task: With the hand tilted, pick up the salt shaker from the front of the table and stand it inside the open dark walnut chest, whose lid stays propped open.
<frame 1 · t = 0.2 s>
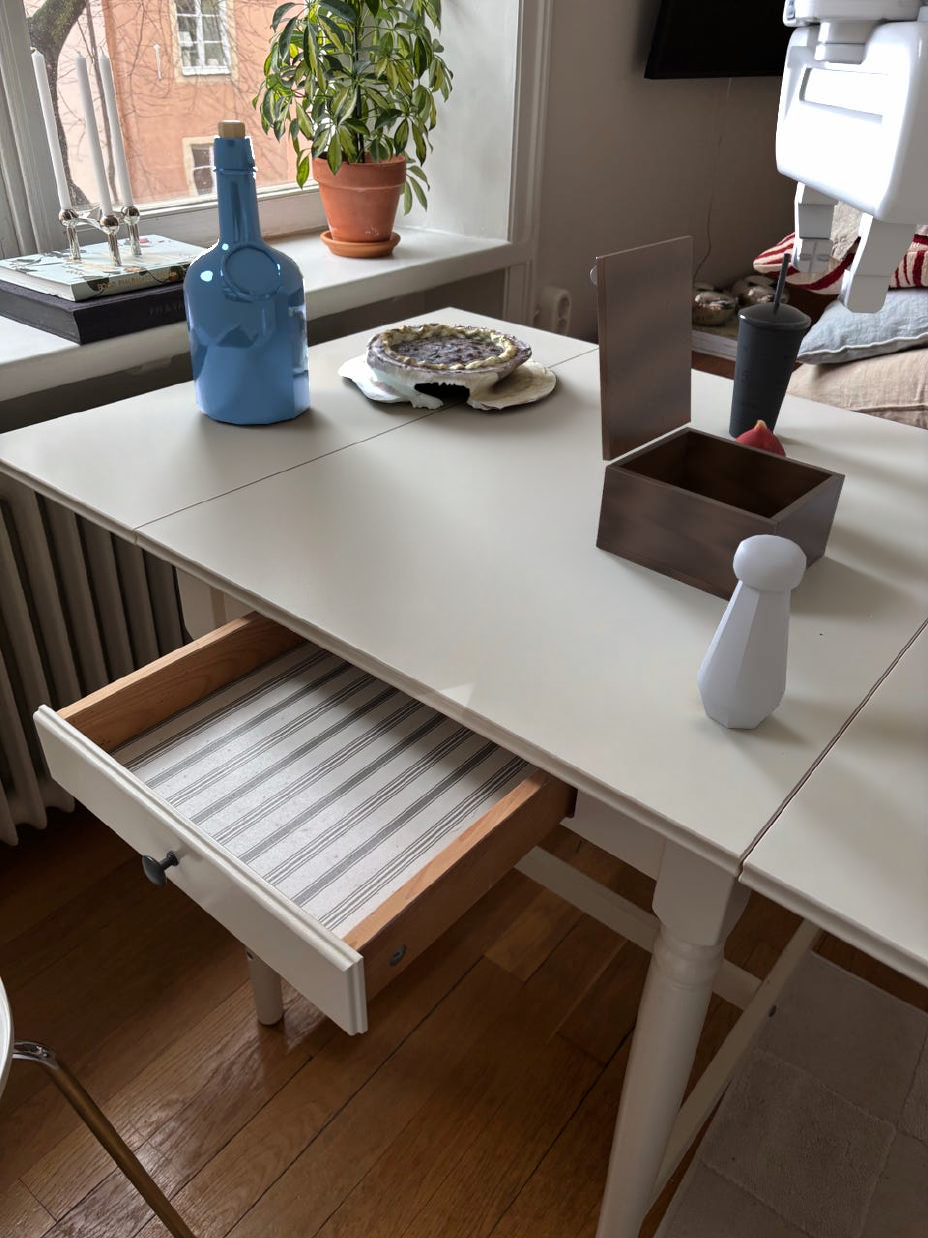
hand: (831, 288, 51), 28 cm above the table, tool pointing down, fingers open, 8 cm apart
salt shaker: (733, 713, 66), on the table
drinking cup: (749, 436, 111), on the table
chest lid: (630, 346, 83), point 16 cm above the table, hinge at 100.0°
wine bottle: (255, 410, 112), on the table
onion: (747, 499, 96), on the table
chest: (710, 550, 86), on the table
pie: (449, 379, 124), on the table
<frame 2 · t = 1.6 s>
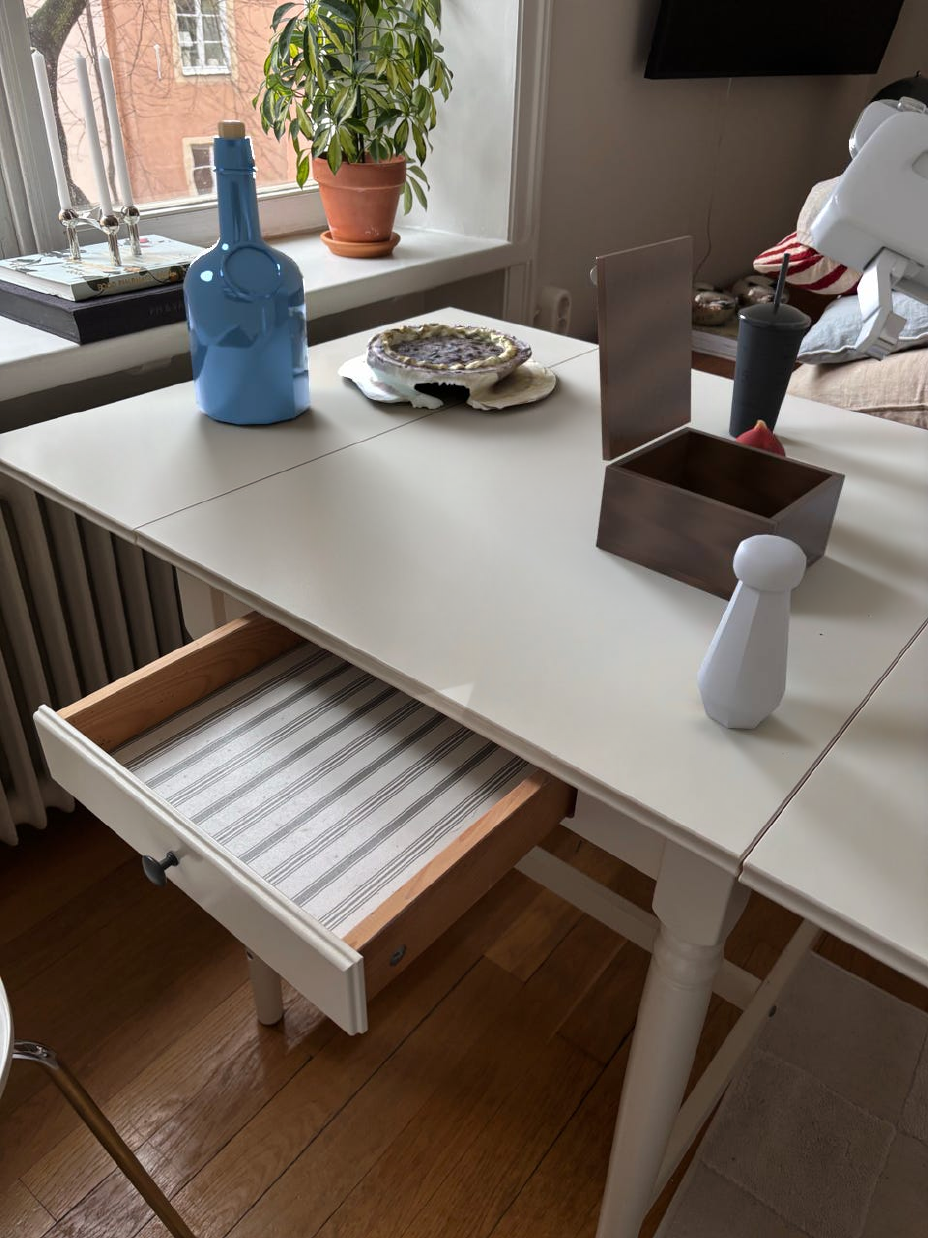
nothing on the table moved.
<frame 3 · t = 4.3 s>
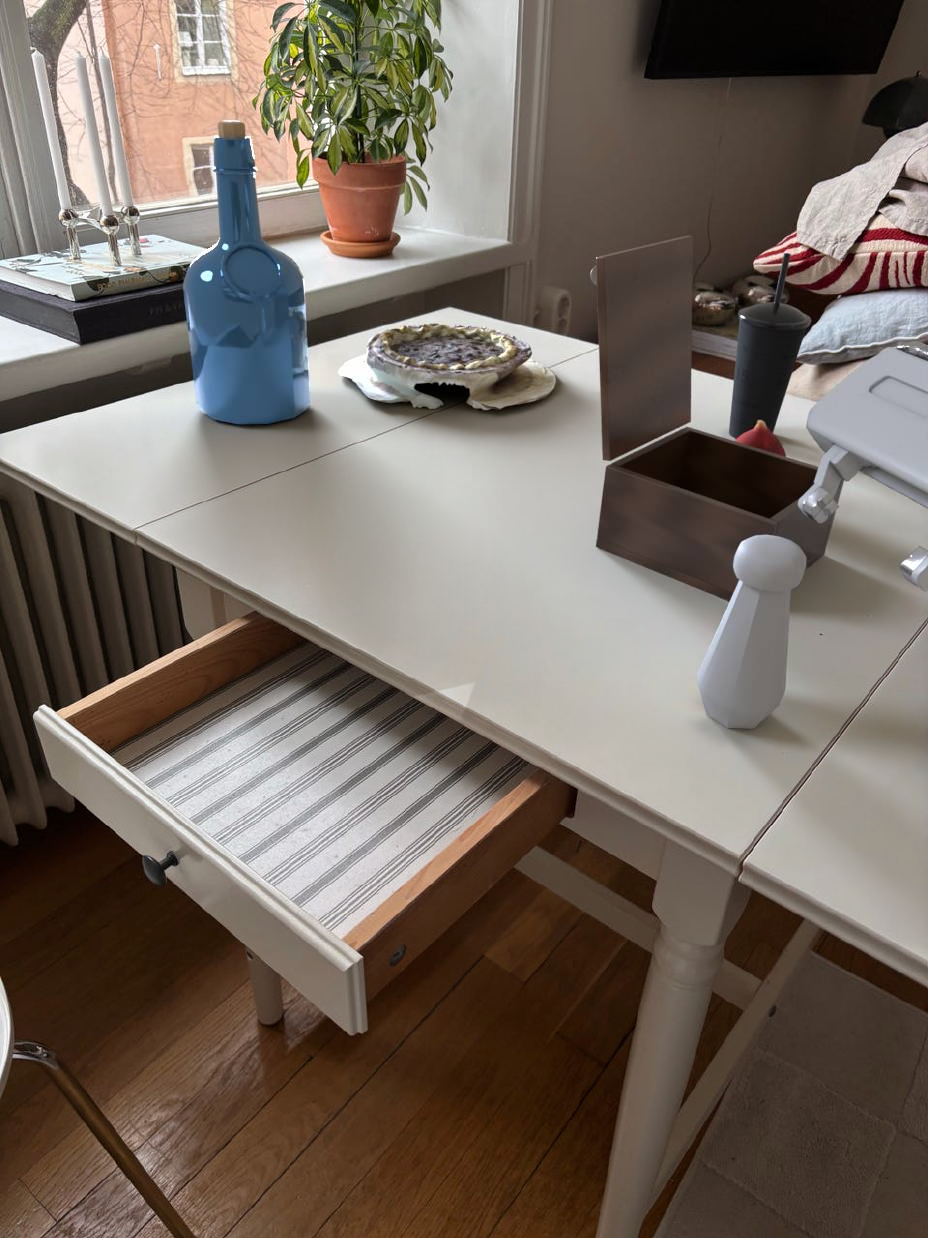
hand: (856, 545, 60), 12 cm above the table, tool tilted 45°, fingers open, 8 cm apart
nothing on the table moved.
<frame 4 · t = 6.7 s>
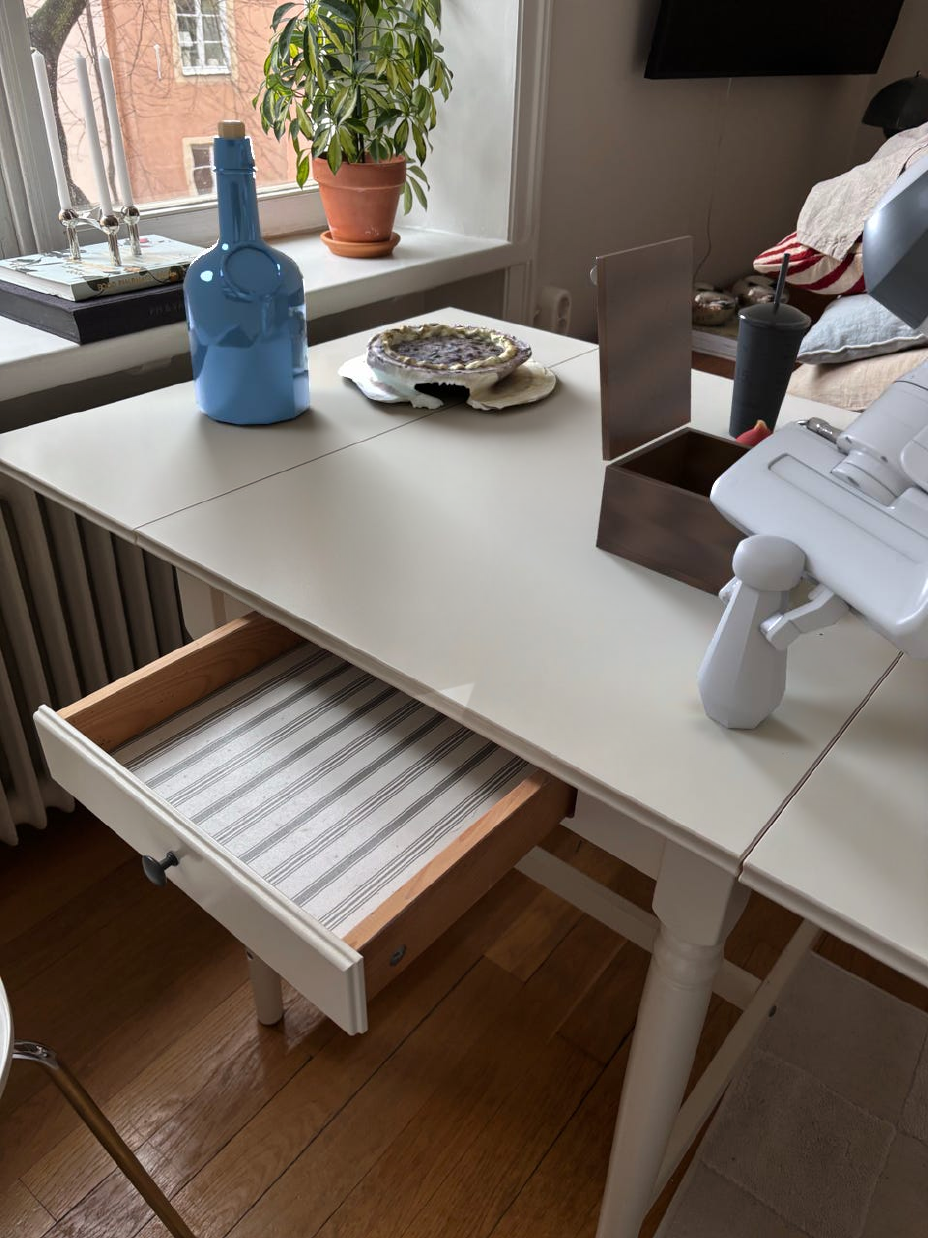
hand: (747, 623, 62), 7 cm above the table, tool tilted 45°, fingers closed on salt shaker, 3 cm apart
salt shaker: (733, 713, 66), on the table, touching gripper
everything else where it was.
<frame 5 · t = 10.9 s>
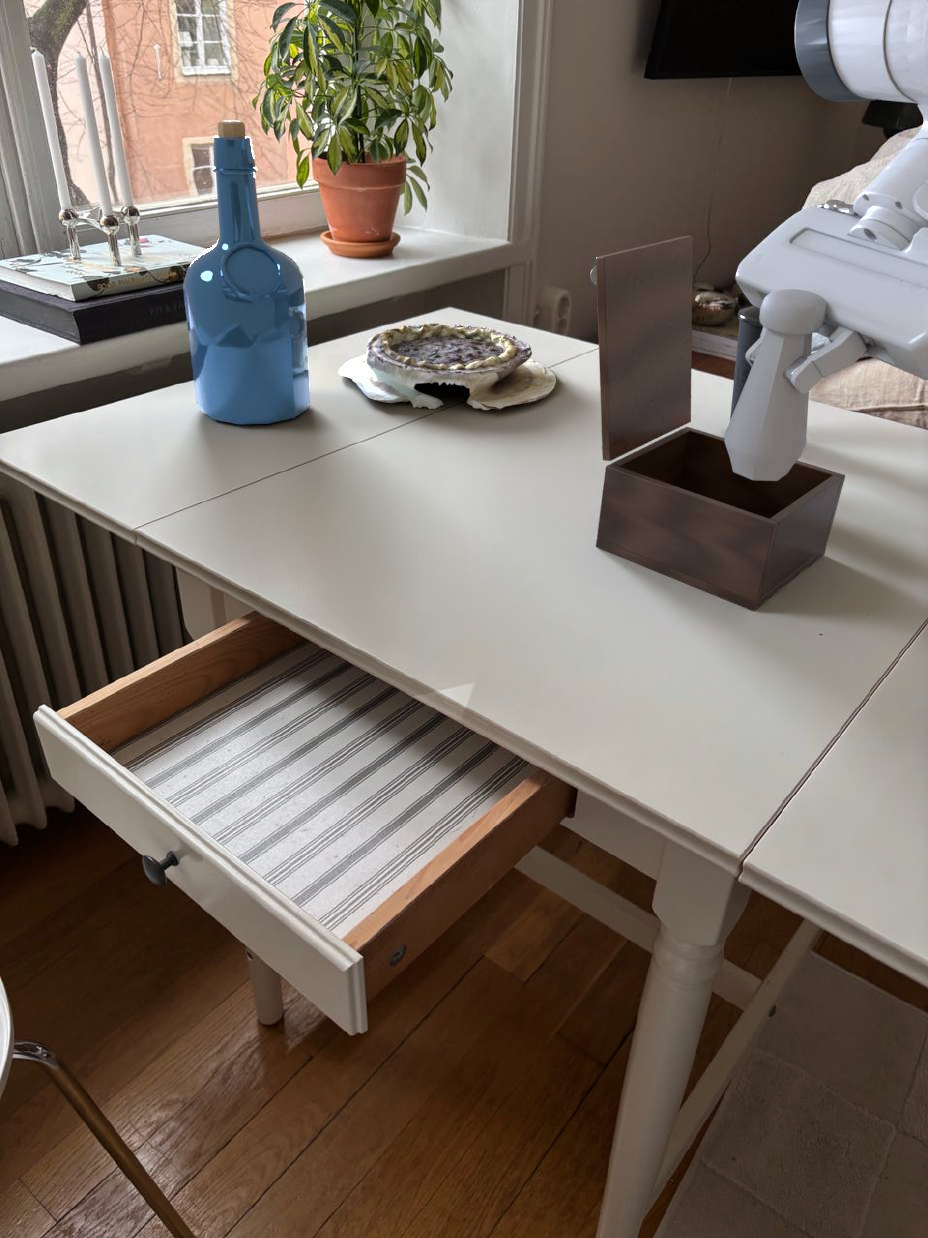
hand: (772, 375, 68), 19 cm above the table, tool tilted 45°, fingers closed on salt shaker, 3 cm apart
salt shaker: (757, 472, 72), point 12 cm above the table, touching gripper
everything else where it was.
when the fingers open (8 cm above the table, at t = 15.3 s): salt shaker stays where it is, resting on chest.
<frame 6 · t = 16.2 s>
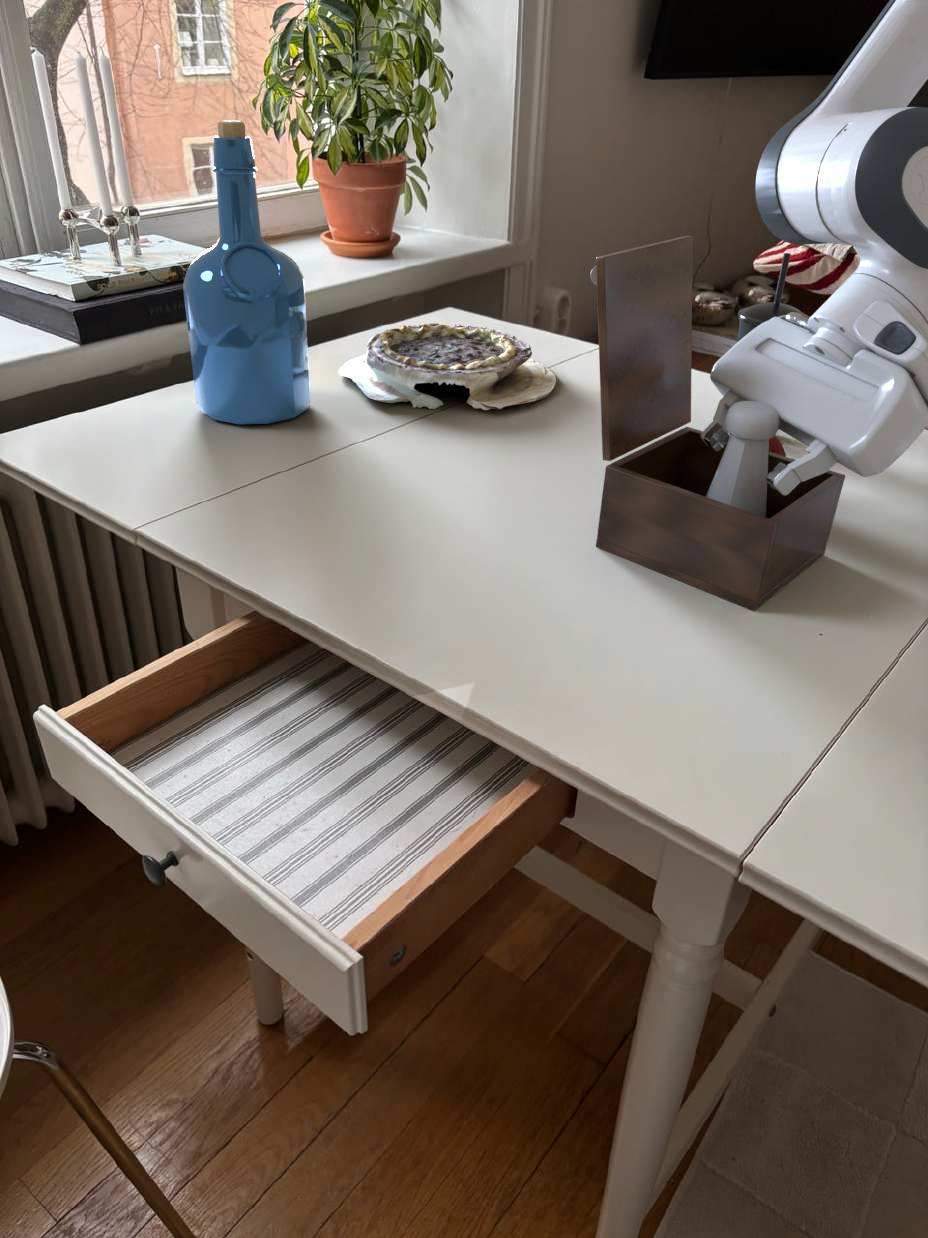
hand: (739, 465, 80), 9 cm above the table, tool tilted 45°, fingers open, 8 cm apart
salt shaker: (725, 548, 85), point 1 cm above the table, touching chest
everything else where it was.
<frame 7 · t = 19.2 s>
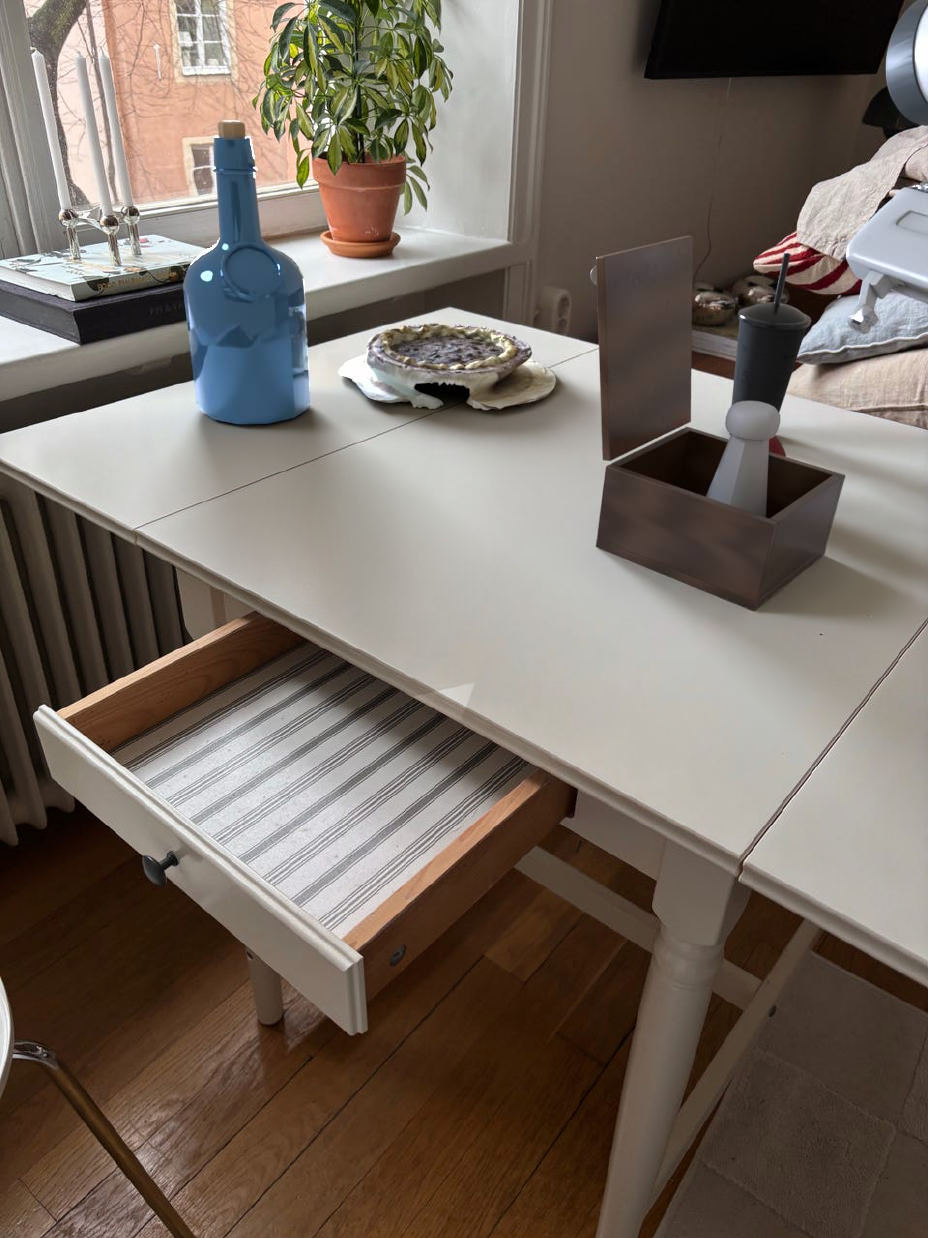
hand: (899, 346, 79), 18 cm above the table, tool tilted 40°, fingers open, 8 cm apart
nothing on the table moved.
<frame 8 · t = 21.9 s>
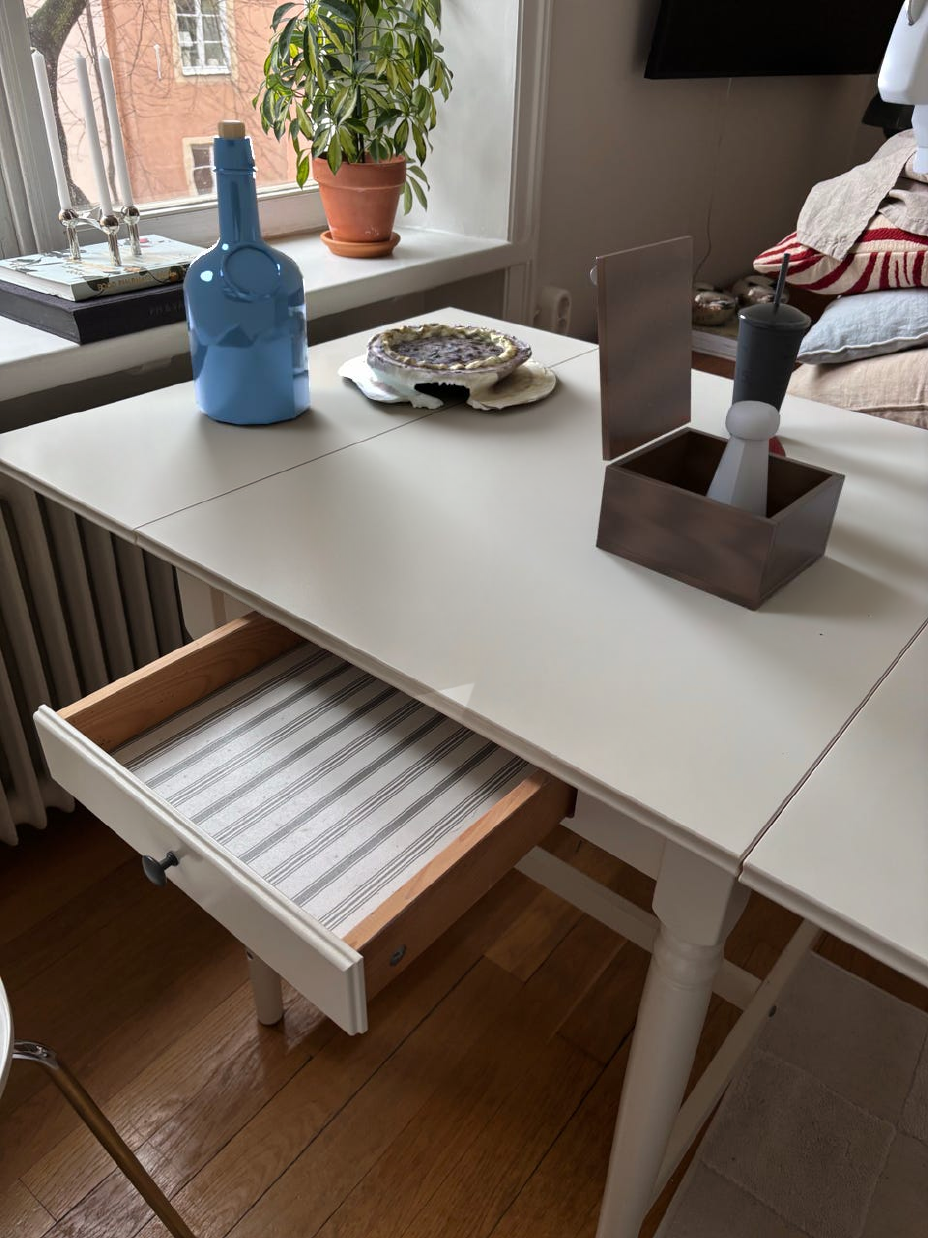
nothing on the table moved.
at the end: salt shaker inside the target area in the chest (1.2 cm from its centre), point 0.6 cm above the chest's base; salt shaker tilted 0°; chest lid at +100° (first picture: +100°) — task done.
